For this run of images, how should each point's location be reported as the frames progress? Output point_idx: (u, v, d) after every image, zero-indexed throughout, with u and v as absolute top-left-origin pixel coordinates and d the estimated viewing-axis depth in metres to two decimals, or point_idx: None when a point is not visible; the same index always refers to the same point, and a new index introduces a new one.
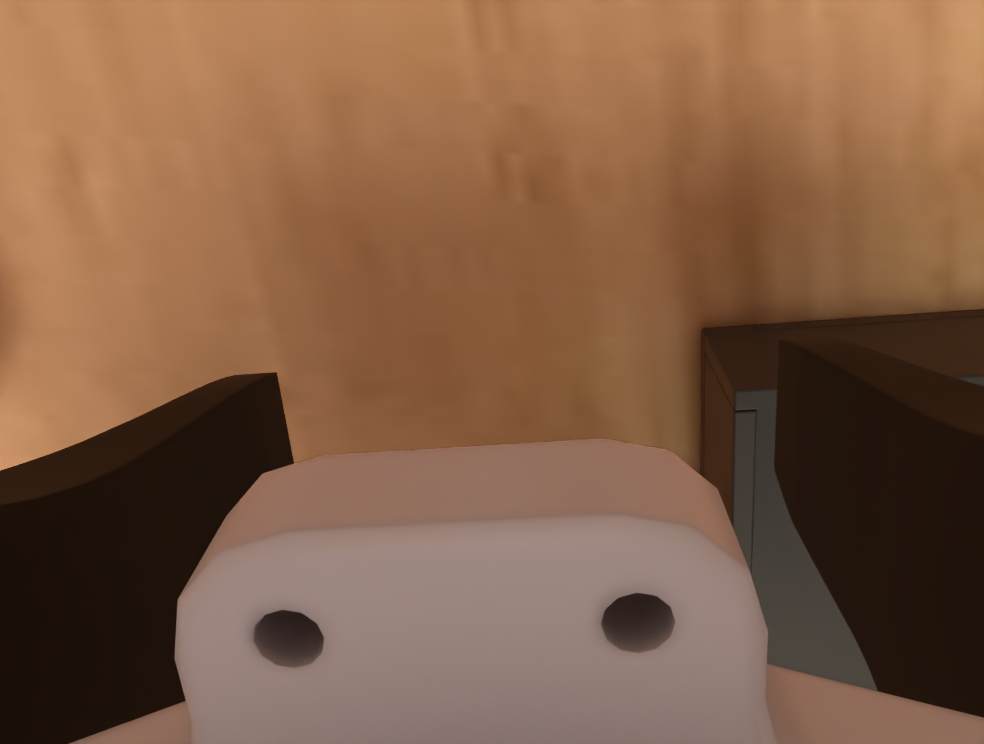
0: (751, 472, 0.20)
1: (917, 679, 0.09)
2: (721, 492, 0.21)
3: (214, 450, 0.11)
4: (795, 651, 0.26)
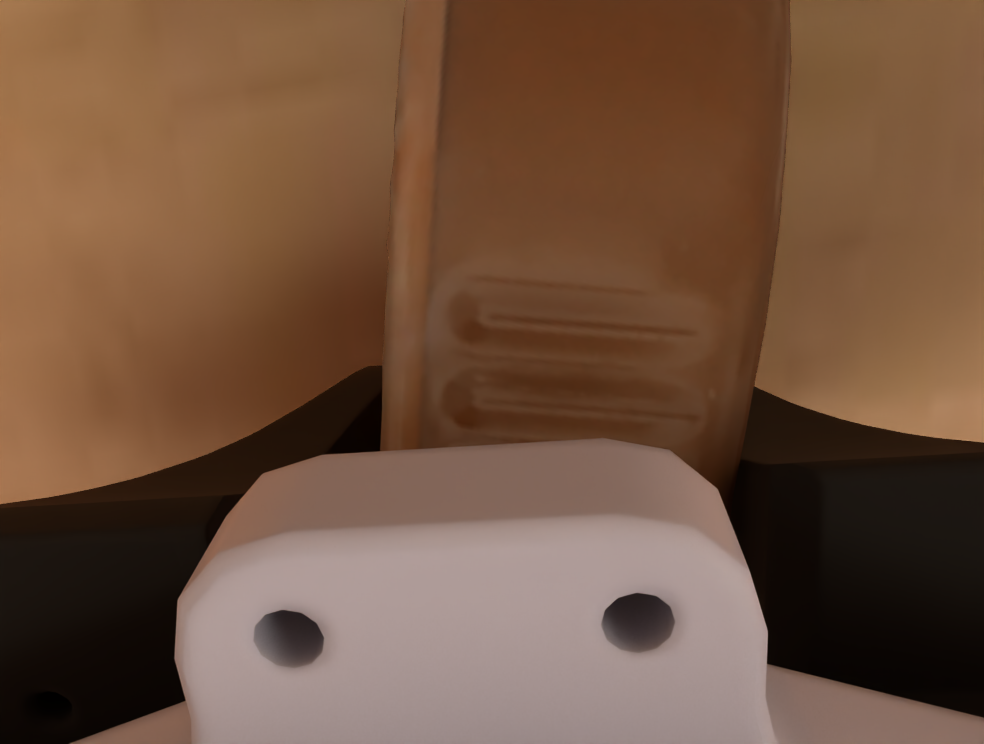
0: None
1: None
2: None
3: (375, 440, 0.10)
4: None
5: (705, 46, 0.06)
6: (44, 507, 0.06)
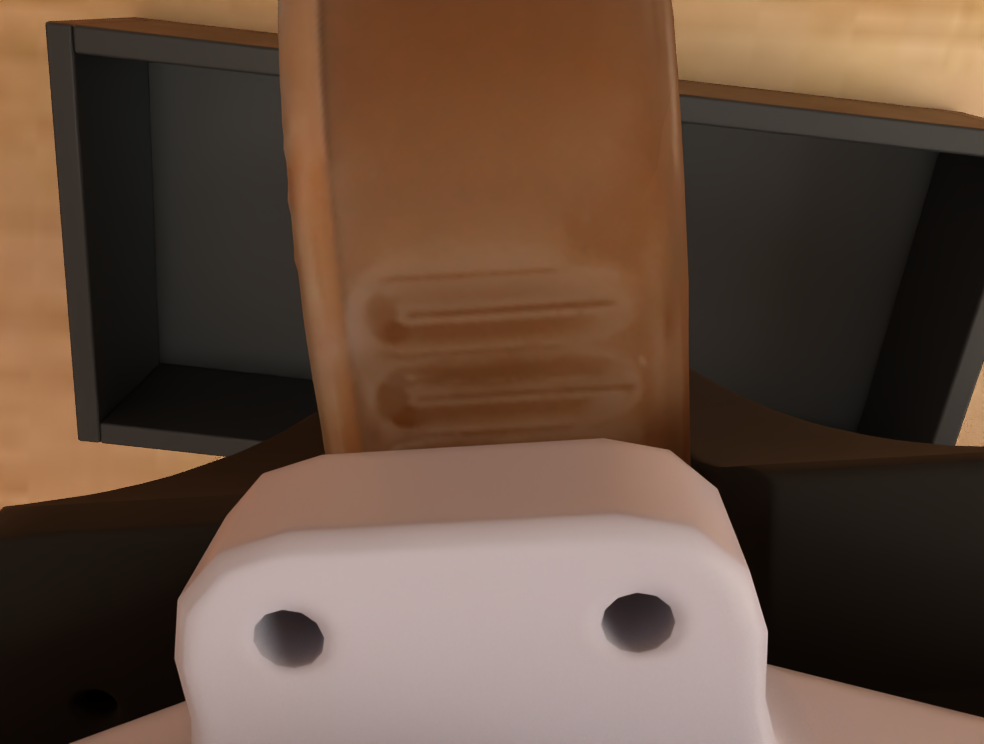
0: (170, 434, 0.19)
1: None
2: None
3: None
4: None
5: (578, 16, 0.06)
6: (91, 504, 0.06)
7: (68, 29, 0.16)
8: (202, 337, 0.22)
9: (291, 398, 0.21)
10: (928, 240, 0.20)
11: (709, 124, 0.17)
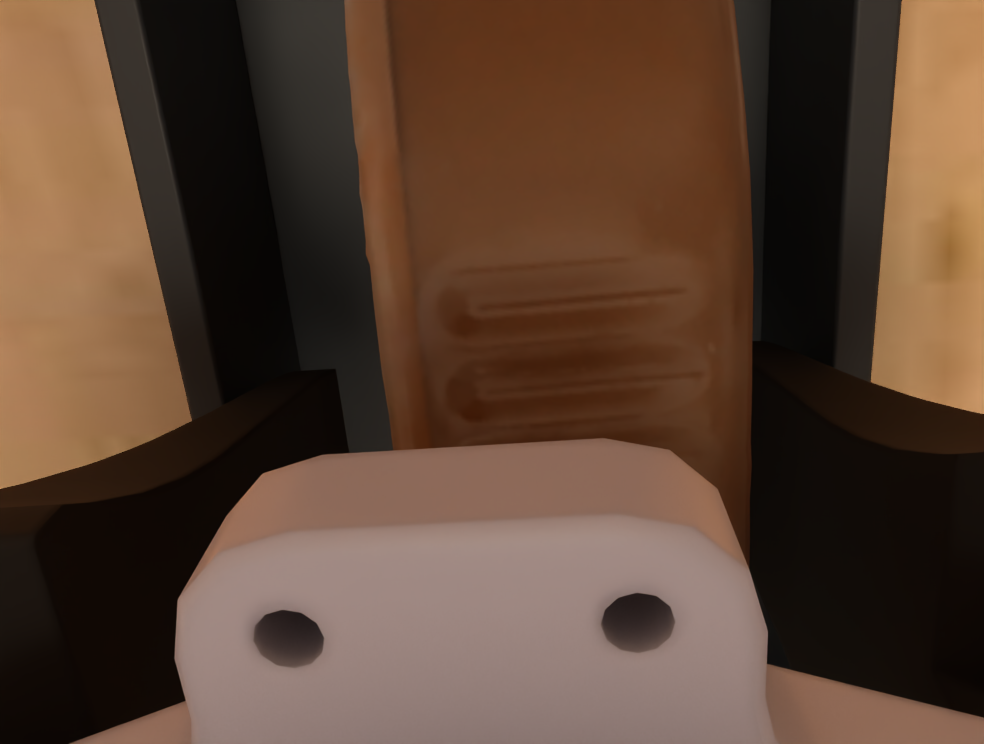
0: None
1: None
2: None
3: (285, 446, 0.11)
4: None
5: (647, 6, 0.06)
6: None
7: None
8: None
9: (218, 61, 0.12)
10: None
11: None
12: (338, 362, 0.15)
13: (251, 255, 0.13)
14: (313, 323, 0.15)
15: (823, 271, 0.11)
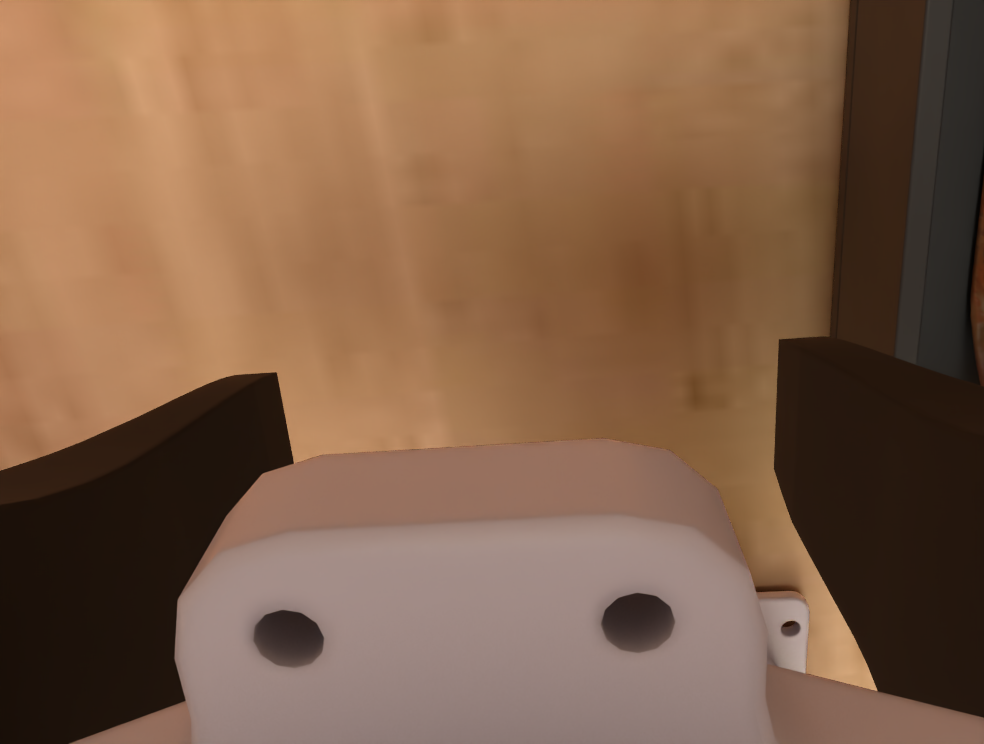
0: None
1: (917, 679, 0.09)
2: None
3: (214, 450, 0.11)
4: (969, 156, 0.20)
5: None
6: None
7: None
8: None
9: None
10: None
11: None
12: None
13: None
14: None
15: None
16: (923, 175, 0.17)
